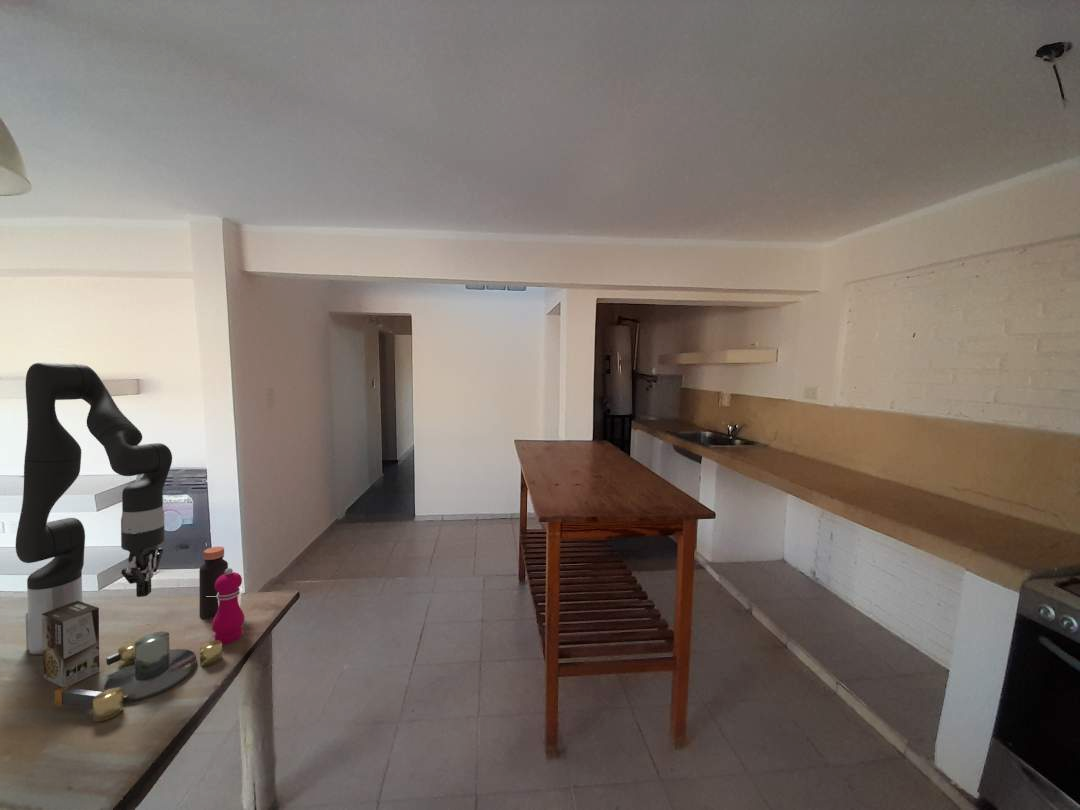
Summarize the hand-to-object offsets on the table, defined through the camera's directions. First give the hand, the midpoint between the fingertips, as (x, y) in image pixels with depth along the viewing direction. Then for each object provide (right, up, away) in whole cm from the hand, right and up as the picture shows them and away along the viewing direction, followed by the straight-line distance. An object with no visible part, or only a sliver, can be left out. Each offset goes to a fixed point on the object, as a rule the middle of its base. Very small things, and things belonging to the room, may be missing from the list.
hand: (143, 595), depth 99 cm
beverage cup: (+4, -18, +22) cm, 29 cm away
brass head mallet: (0, -19, -12) cm, 23 cm away
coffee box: (-16, -19, -2) cm, 24 cm away
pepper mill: (+10, -19, +14) cm, 26 cm away
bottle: (-3, -18, +25) cm, 31 cm away
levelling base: (+3, -19, 0) cm, 19 cm away
